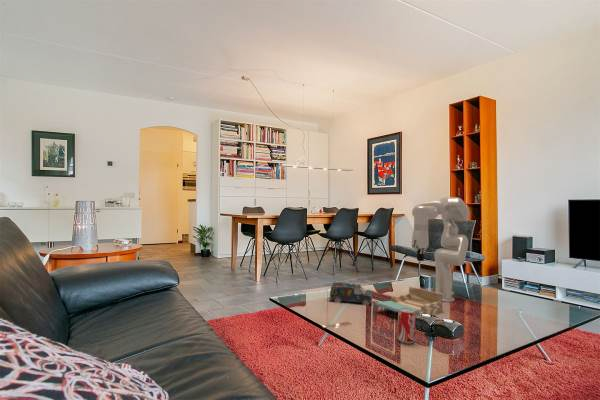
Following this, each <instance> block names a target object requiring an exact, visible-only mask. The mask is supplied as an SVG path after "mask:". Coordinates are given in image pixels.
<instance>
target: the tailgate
mask: <svg viewBox="0 0 600 400" xmlns="http://www.w3.org/2000/svg"><path fill="white" fill-rule="evenodd" d="M375 306H378V307H382V308H385V309H386V310H389V311H392V312H395V313H398V312H399V311H400V310H399V309H400V308H409V309H413V310H414V311H415V313H418V312H420V310H419V309H416V308H412V307H409V306H405V305H402V304H399V303H395V302H392V301H391V300H386V301H376V302H375Z"/></svg>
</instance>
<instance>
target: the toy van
mask: <svg viewBox="0 0 600 400" xmlns="http://www.w3.org/2000/svg"><path fill="white" fill-rule="evenodd" d="M329 300H330V301H331V300H332V301H333V300H334V303H337V302H339V303H340V304H341V303H342V302H351V303H362V305H363V306H370V304H372V302H373V292H372V290H366V289H365V288H364V287H363V286H362V285H361V284H357V283H348V282H333V283H332V285H331V286H330V291H329ZM339 303H338V304H339Z"/></svg>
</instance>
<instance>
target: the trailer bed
mask: <svg viewBox="0 0 600 400" xmlns="http://www.w3.org/2000/svg"><path fill="white" fill-rule="evenodd" d="M408 290H409V291H408V293H405V294H402V295H396V296H392V297H390V301H392V302H395V303H399V304H402V305H405V306H409V307H412V308H416V309H419V310H420V312H418V313H415V314H430V315H432V316H434V315H437V314H441V313H443V301H442V298H443V294H441V293H437V292H435V291H433V290H428V289H424V288H419V287H414V286H409V287H408Z"/></svg>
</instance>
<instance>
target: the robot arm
mask: <svg viewBox="0 0 600 400" xmlns="http://www.w3.org/2000/svg"><path fill="white" fill-rule="evenodd" d="M411 211H412V212H411V214H412V216H413V231H412V237H411V248H412V249H413V250H414V252H415V251H416V260H417V261H418V262H419V261H420V262H425V261H424V260H425V252H426V250H428V248H429V243H430V242H429V237H430V236H429V220H435V219H436V218H437V217H439V215H441V220H442V224H443V231H442V234H441V239H440V246H441V247H442V248H438V249H436V250H435V251H434V254H433V256H434V263H435V288H434V289H435V291H434V292H437V293H441V294H443V298H442V302H448V303H449V302H450V303H451V302H455V297H453V296H454V295H455V292H454V291H453V270H452V268H451V267H450V266H459V267H461V266H463V265H464V263H465V261H466V256H467V253H468V247H469V239H468V237H467V235H465V234H460V233H459V234H458V232H459V227H458V225H457V224H456V223H455V221H468V220H469V219H470V216H471V215H470V214H471V213H470V210H469V207H468V206H467V205H466V203H465V201H464V200H463V199H462V198H460V197H451V196H450V197H442V198H440V199H437V200H435V201H429V202H423V203H419V204H417V205H415V206H414V207H413V208H412V210H411Z"/></svg>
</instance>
